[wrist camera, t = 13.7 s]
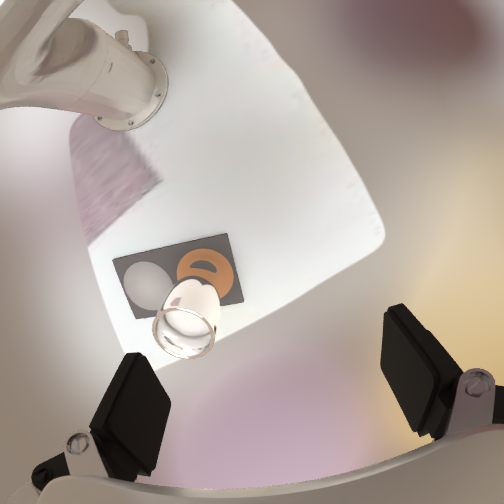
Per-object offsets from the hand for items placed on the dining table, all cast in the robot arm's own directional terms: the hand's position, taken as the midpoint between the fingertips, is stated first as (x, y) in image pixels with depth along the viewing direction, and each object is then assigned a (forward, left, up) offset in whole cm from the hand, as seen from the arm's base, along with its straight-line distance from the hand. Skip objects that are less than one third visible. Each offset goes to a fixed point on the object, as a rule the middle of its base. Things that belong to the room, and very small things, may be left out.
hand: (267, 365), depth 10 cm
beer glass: (+8, -9, -30) cm, 32 cm away
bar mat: (+8, -14, -30) cm, 34 cm away
